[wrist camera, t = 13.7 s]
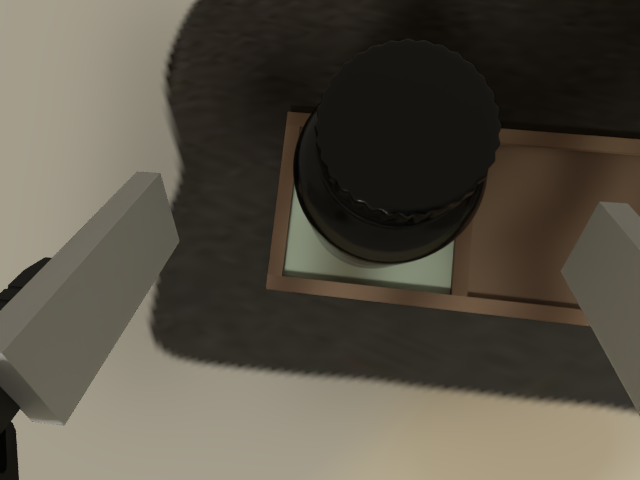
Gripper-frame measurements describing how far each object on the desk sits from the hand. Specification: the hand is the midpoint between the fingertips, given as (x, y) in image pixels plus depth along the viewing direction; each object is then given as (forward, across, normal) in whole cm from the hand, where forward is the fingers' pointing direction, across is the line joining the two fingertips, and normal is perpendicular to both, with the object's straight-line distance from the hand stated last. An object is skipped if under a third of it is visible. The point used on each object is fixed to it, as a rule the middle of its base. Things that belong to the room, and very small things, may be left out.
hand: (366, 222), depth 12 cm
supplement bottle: (+8, +1, -5) cm, 10 cm away
